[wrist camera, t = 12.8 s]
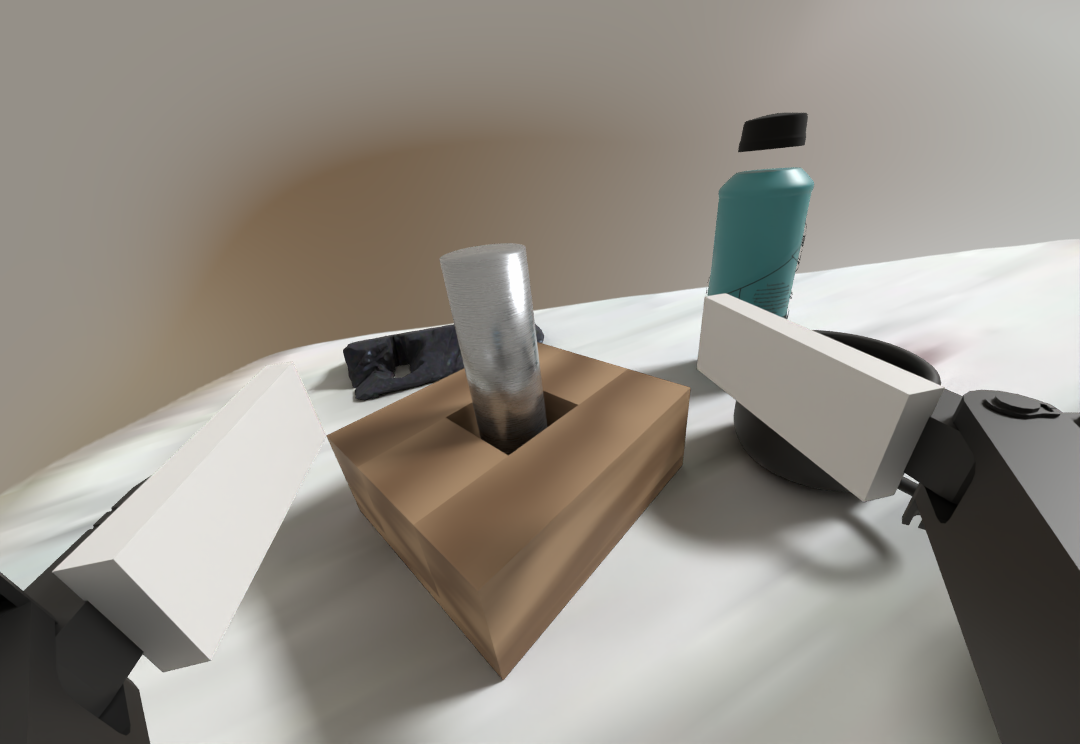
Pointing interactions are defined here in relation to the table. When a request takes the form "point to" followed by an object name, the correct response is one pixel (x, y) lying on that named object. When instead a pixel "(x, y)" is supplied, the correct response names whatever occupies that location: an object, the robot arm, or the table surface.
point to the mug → (790, 460)
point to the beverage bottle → (762, 220)
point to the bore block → (515, 491)
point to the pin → (497, 341)
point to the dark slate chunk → (405, 360)
